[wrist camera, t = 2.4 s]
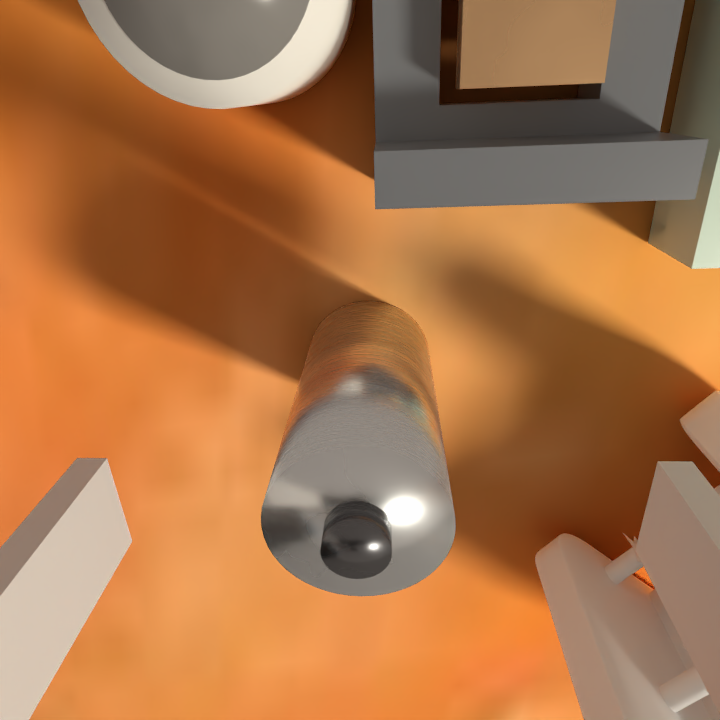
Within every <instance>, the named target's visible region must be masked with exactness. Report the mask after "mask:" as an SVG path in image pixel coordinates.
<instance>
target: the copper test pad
mask: <svg viewBox="0 0 720 720" xmlns="http://www.w3.org/2000/svg"><path fill="white" fill-rule="evenodd" d="M615 6H616V0H459V1H458V30H457V59H456V88H455V89H473V88H496V87H519V86H543V85H566V84H590V83H605V77H606V70H607V63H608V56H609V49H610V42H611V35H612V28H613V21H614V13H615Z"/></svg>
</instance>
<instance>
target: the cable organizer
mask: <svg viewBox="0 0 720 720" xmlns="http://www.w3.org/2000/svg"><path fill="white" fill-rule="evenodd" d="M680 423H681V425H682V427H683V429H684V430H685V432H686V433H687V435H688V436H689V437H690V439H691V440H692V441H693V442H694V443H695V445H696V446H697V447H698V448H699V449H700V450H701V452H702V453H703V454H704V455H705V456H706V457H707V458H708V460H709V461H710V462H711V463H712V464H713V465H714V467H715V468H716V469H717V470H718V471H719V472H720V391H714V392H713V393H712V394H710V395H709V396H708V397H707V398H705V399H704V400H703V401H702V402H700V403H699V404H698V405H697V406H695V407H694V408H693V409H692V410H690V411H689V412H688V413H686V414H685V415H684V416H683V417H681V418H680ZM714 490H715V491H716V492H717V493H718V495H719V496H720V485H718V486H717V487H716V488H714ZM622 533H623V532H622ZM623 534H624V533H623ZM624 535H625V534H624ZM625 537H626V538H627V540H628V541H629V543H630V544H631V545H632V547H631V548H630V549H629V550H627V551H626V552H624V553H623V554H622V555H620V556H619V557H617V558H616V559H615V560H613V561H612V560H611V559H609V558H608V557H606V556H605V555H603V554H602V553H601V552H599V551H598V550H596V549H595V548H593V547H592V546H591V545H589V544H588V543H586V542H585V541H583V540H581V539H580V538H578V537H576V536H574V535H571V534H566V533H563V534H560V535H559V536H557V537H556V538H555V539H554V540H552V541H551V542H550V543H548V544H547V545H546V546H545V547H543V548H542V549H541V550H539V551H538V552H537V553H536V556H535V563H536V567H537V570H538V574H539V577H540V580H541V583H542V587H543V590H544V593H545V596H546V599H547V603H548V606H549V609H550V612H551V615H552V619H553V622H554V625H555V628H556V631H557V635H558V638H559V641H560V644H561V647H562V651H563V654H564V657H565V660H566V663H567V667H568V670H569V673H570V676H571V679H572V683H573V686H574V689H575V692H576V695H577V699H578V702H579V705H580V708H581V711H582V715H583V718H584V720H720V714H719V712H718V711H717V709H716V707H715V705H714V703H713V701H712V699H711V697H710V695H709V693H708V691H707V689H706V687H705V685H704V683H703V681H702V679H701V677H700V675H699V673H698V671H697V669H696V667H695V665H694V664H693V662H692V660H691V658H690V656H689V654H688V652H687V650H686V648H685V646H684V644H683V642H682V640H681V638H680V636H679V634H678V632H677V630H676V628H675V626H674V624H673V622H672V620H671V619H670V617H669V615H668V613H667V611H666V609H665V607H664V605H663V603H662V601H661V599H660V597H659V595H658V593H657V591H656V589H652V588H651V587H649V586H648V585H646V584H645V583H644V582H642V581H641V580H639V579H638V578H636V577H635V576H634V575H632V574H633V573H635V572H636V571H638V570H639V569H640V568H642V567H643V564H642V562H641V560H640V558H639V556H638V554H637V552H636V550H635V549H636V545H637V541H638V540H637V539H636V537H635V536H634V542H633V541H632V540H631V539H630V538H628V537H627V536H626V535H625Z"/></svg>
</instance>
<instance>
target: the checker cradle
mask: <svg viewBox="0 0 720 720" xmlns="http://www.w3.org/2000/svg"><path fill="white" fill-rule="evenodd" d="M441 1H442V0H372V7H373V49H374V90H375V132H376V144H375V148H374V177H375V209H399V208H431V207H464V206H497V205H529V204H562V203H594V202H627V201H660V200H692V199H695V198H696V193H697V189H698V184H699V180H700V176H701V171H702V167H703V162H704V158H705V154H706V149H707V145H708V140H709V139H704V138H697V137H691V136H684V135H678V134H672V133H665V132H660V129H661V124H662V119H663V113H664V108H665V103H666V97H667V92H668V87H669V81H670V76H671V71H672V66H673V60H674V55H675V50H676V44H677V39H678V34H679V28H680V23H681V18H682V13H683V7H684V2H685V0H616V6H615V13H614V21H613V28H612V35H611V42H610V49H609V56H608V63H607V70H606V77H605V83H590V84H579V86H578V94H577V98H564V99H539V100H515V101H491V102H467V103H443V104H439V88H440V44H441Z"/></svg>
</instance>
